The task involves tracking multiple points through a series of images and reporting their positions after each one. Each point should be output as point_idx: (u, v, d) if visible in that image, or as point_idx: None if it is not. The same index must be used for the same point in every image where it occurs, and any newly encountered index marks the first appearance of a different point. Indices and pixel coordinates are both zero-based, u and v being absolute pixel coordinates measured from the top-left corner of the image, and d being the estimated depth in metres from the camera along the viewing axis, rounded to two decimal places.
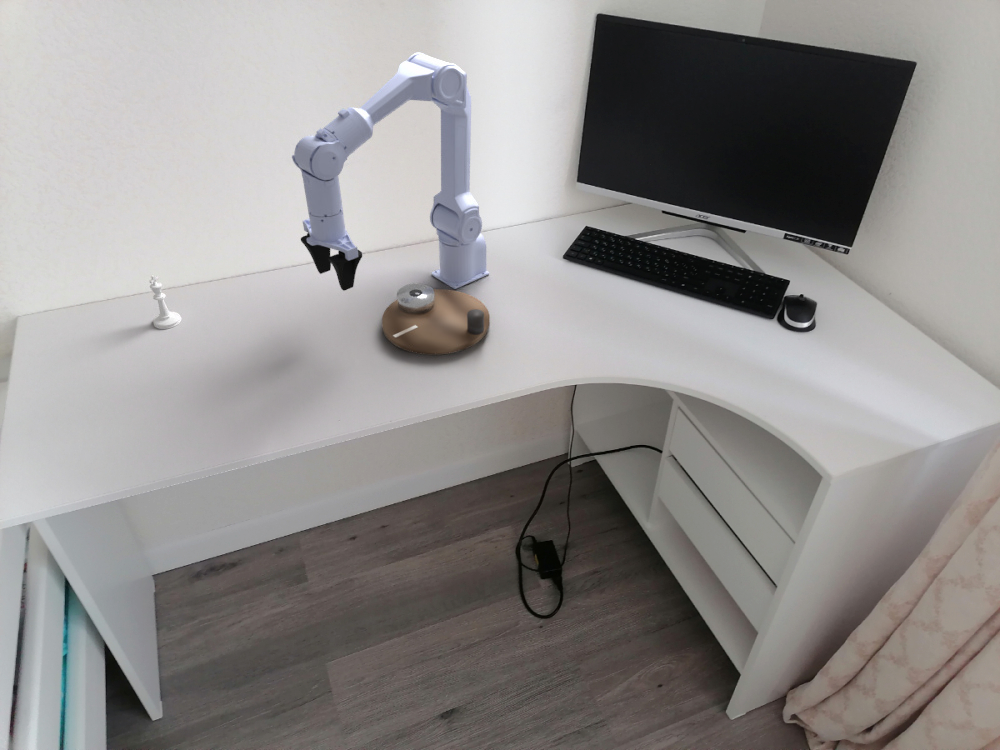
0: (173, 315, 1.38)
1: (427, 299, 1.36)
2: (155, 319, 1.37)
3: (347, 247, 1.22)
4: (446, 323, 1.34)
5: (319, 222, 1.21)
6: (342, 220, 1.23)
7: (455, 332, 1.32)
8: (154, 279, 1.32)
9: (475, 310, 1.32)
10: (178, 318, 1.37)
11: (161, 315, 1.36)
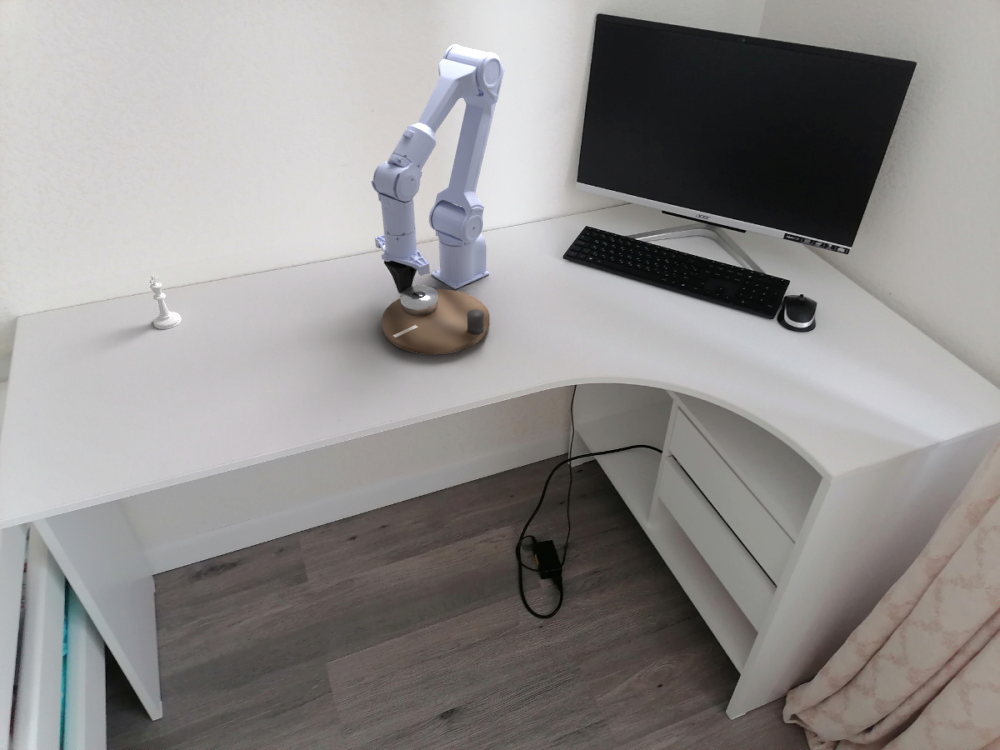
0: (173, 315, 1.38)
1: (430, 301, 1.36)
2: (155, 319, 1.37)
3: (420, 263, 1.32)
4: (446, 323, 1.34)
5: (394, 240, 1.31)
6: (414, 238, 1.33)
7: (455, 332, 1.32)
8: (154, 279, 1.32)
9: (475, 310, 1.32)
10: (178, 318, 1.37)
11: (161, 315, 1.36)
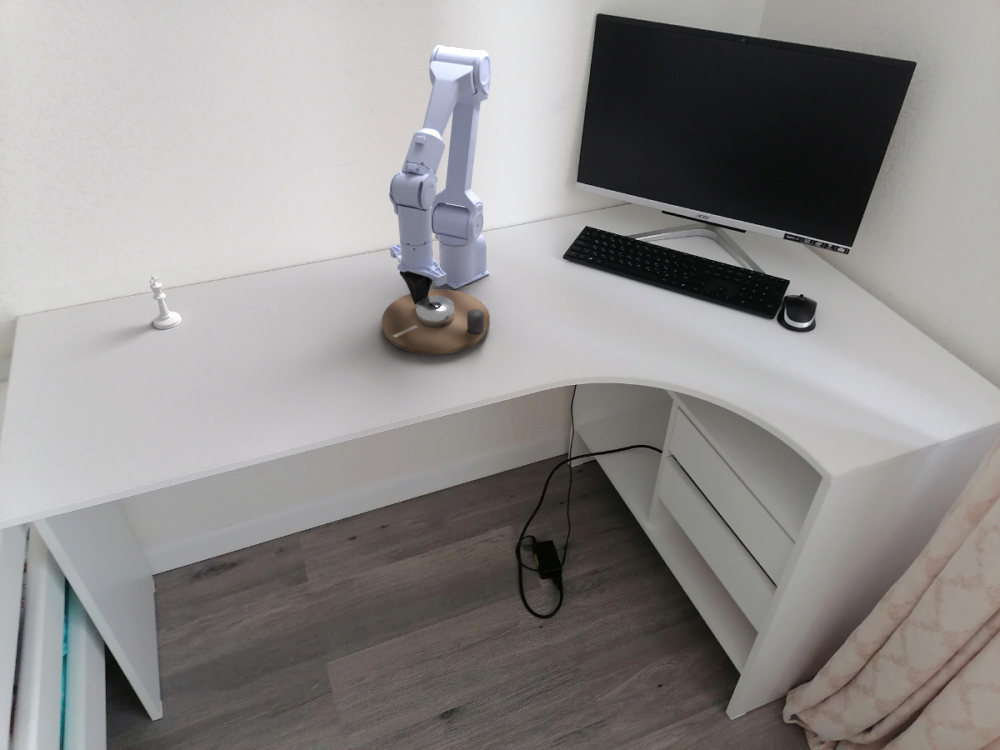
0: (173, 315, 1.38)
1: (446, 312, 1.33)
2: (155, 319, 1.37)
3: (437, 274, 1.29)
4: None
5: (411, 250, 1.28)
6: (431, 248, 1.30)
7: (455, 332, 1.32)
8: (154, 279, 1.32)
9: (475, 310, 1.32)
10: (178, 318, 1.37)
11: (161, 315, 1.36)
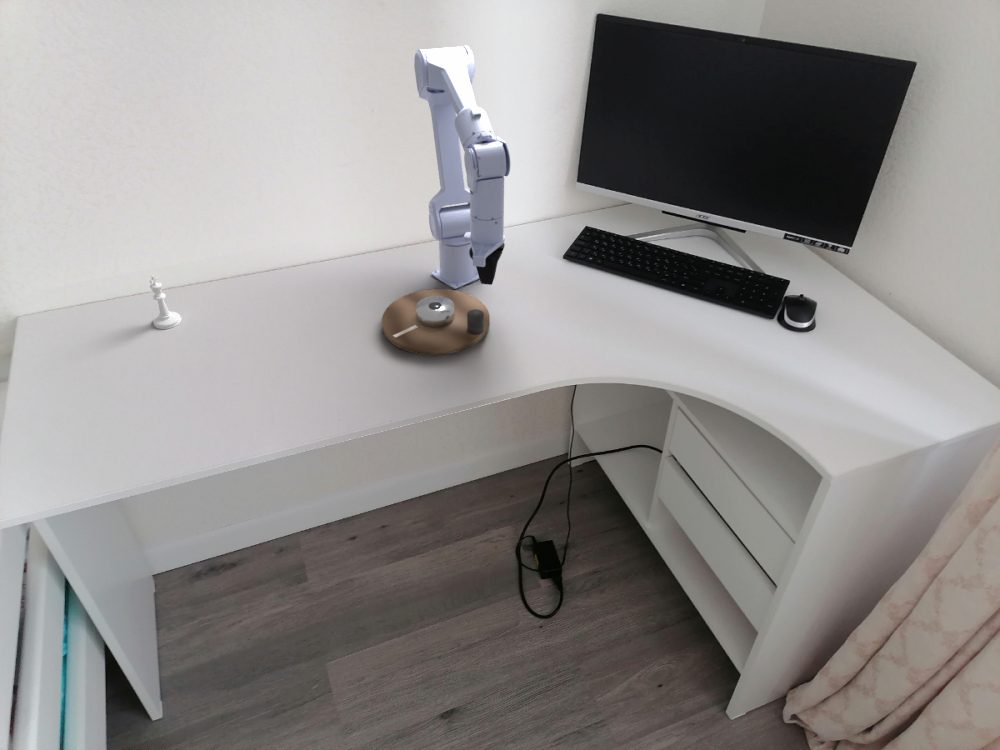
0: (173, 315, 1.38)
1: (447, 312, 1.33)
2: (155, 319, 1.37)
3: (479, 253, 1.22)
4: None
5: (471, 221, 1.23)
6: (493, 228, 1.23)
7: (455, 332, 1.32)
8: (154, 279, 1.32)
9: (475, 310, 1.32)
10: (178, 318, 1.37)
11: (161, 315, 1.36)
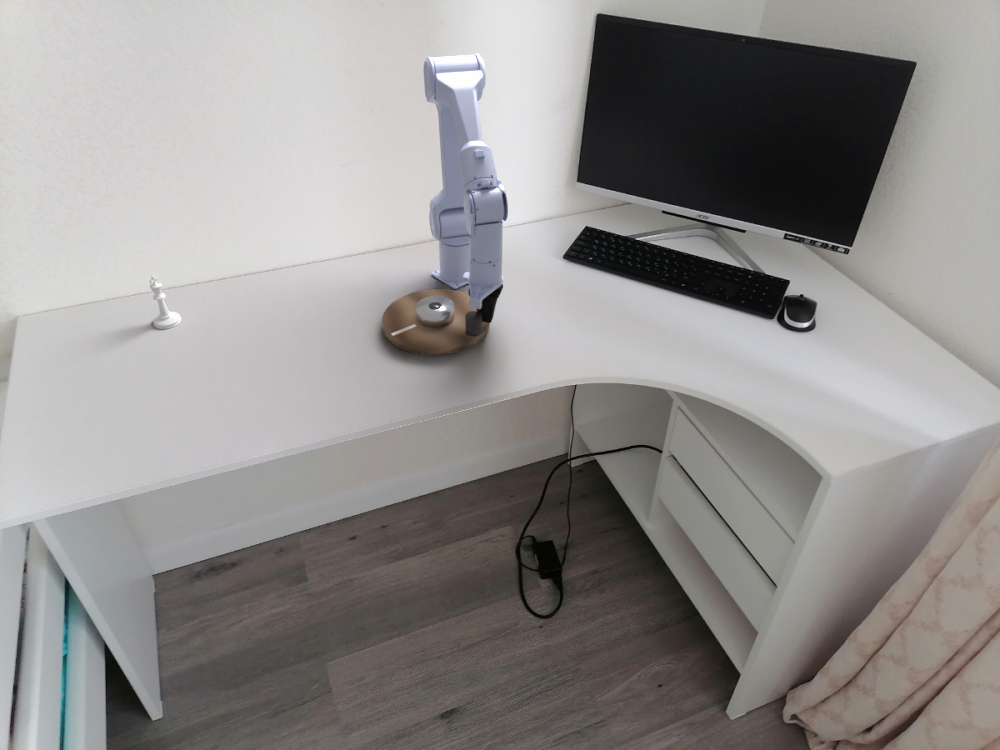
0: (173, 315, 1.38)
1: (446, 313, 1.32)
2: (155, 319, 1.37)
3: (475, 296, 1.23)
4: None
5: (470, 263, 1.25)
6: (491, 271, 1.24)
7: (453, 333, 1.32)
8: (154, 279, 1.32)
9: (474, 312, 1.31)
10: (178, 318, 1.37)
11: (161, 315, 1.36)
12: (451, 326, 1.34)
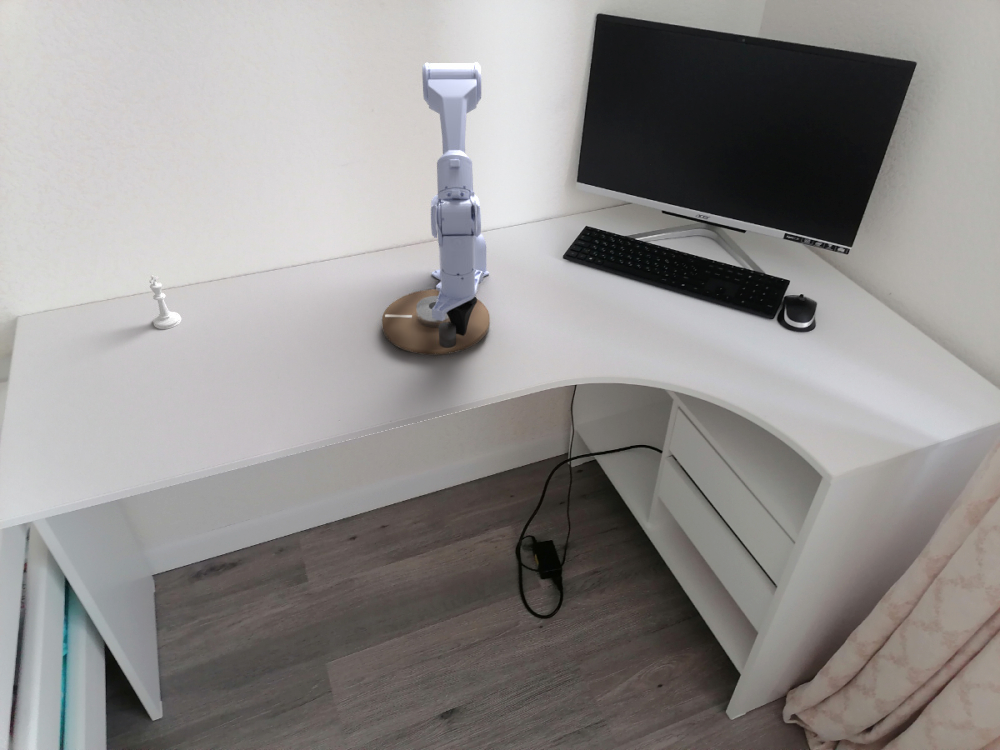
0: (173, 315, 1.38)
1: None
2: (155, 319, 1.37)
3: (439, 307, 1.21)
4: None
5: (440, 273, 1.22)
6: (459, 284, 1.21)
7: (430, 336, 1.31)
8: (154, 279, 1.32)
9: (452, 324, 1.28)
10: (178, 318, 1.37)
11: (161, 315, 1.36)
12: (437, 330, 1.33)
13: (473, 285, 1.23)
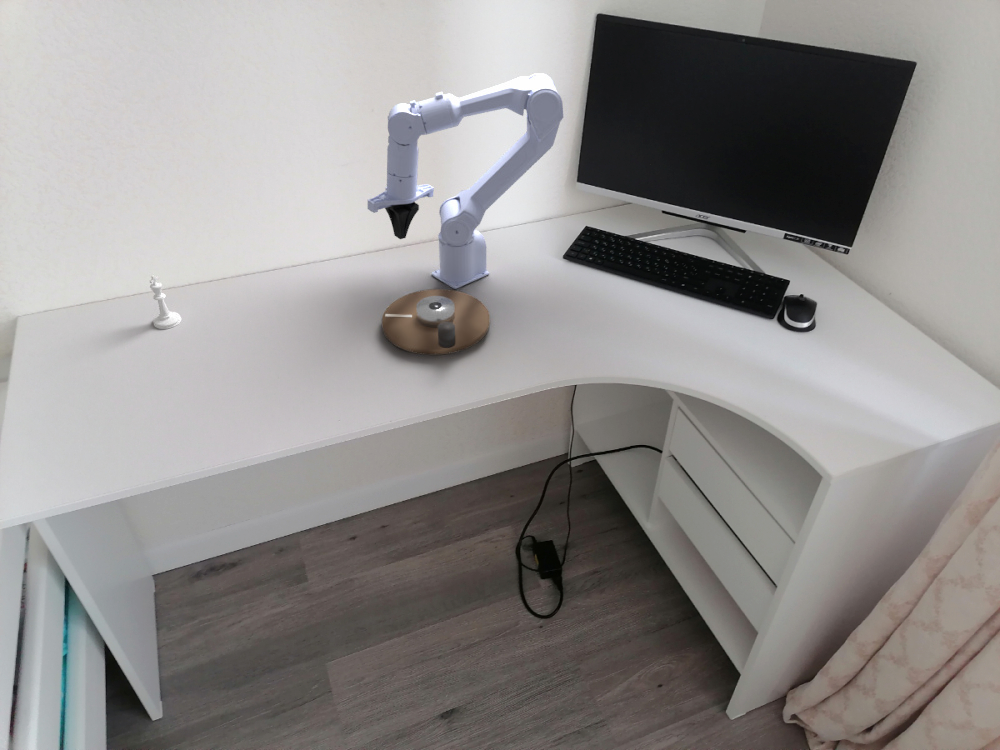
0: (173, 315, 1.38)
1: (434, 315, 1.32)
2: (155, 319, 1.37)
3: None
4: None
5: None
6: (397, 185, 1.36)
7: (429, 336, 1.31)
8: (154, 279, 1.32)
9: (451, 324, 1.28)
10: (178, 318, 1.37)
11: (161, 315, 1.36)
12: (436, 330, 1.33)
13: (412, 191, 1.38)
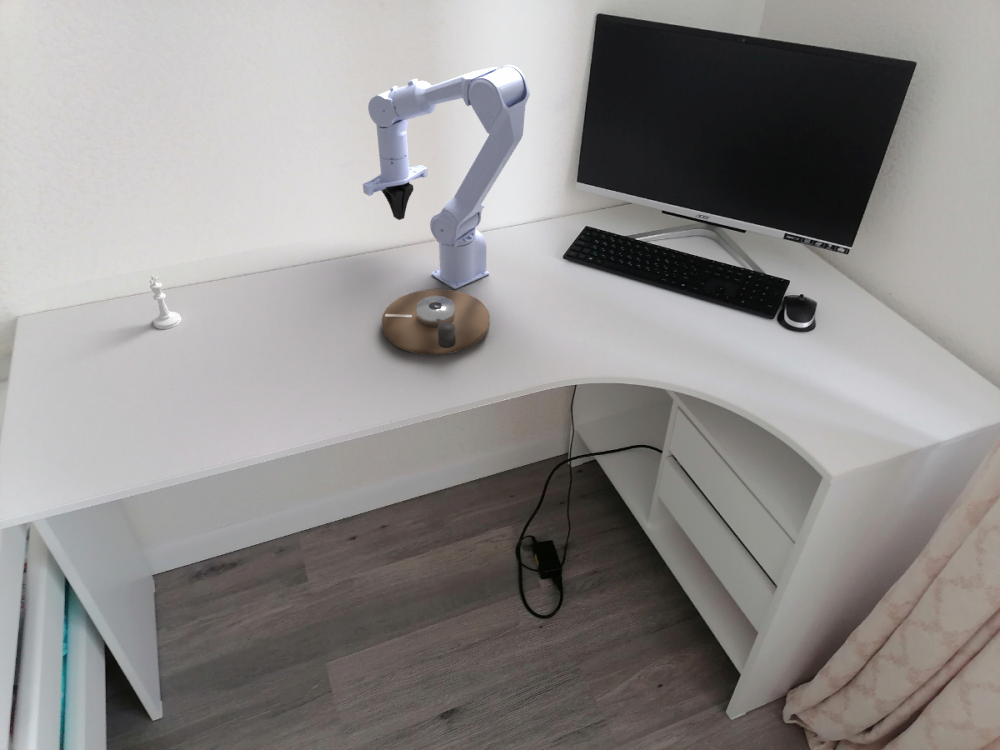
0: (173, 315, 1.38)
1: (434, 315, 1.32)
2: (155, 319, 1.37)
3: (370, 184, 1.44)
4: None
5: None
6: (389, 167, 1.43)
7: (429, 336, 1.31)
8: (154, 279, 1.32)
9: (451, 324, 1.28)
10: (178, 318, 1.37)
11: (161, 315, 1.36)
12: (436, 330, 1.33)
13: (404, 172, 1.44)
